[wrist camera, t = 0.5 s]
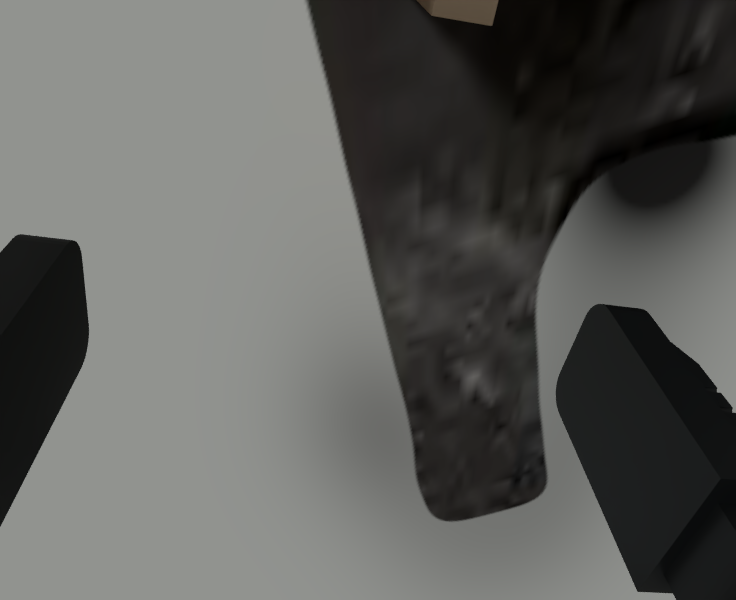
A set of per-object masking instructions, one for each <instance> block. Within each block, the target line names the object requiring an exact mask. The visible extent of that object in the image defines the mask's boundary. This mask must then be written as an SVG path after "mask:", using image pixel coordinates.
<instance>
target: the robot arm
mask: <svg viewBox="0 0 736 600" xmlns="http://www.w3.org/2000/svg"><path fill="white" fill-rule="evenodd" d="M88 338H89V323H88V314H87V303H86V294H85V284H84V273H83V263H82V255H81V250H80V247H79V245H78V243H77V242H75V241H73V240H65V239H56V238H47V237H39V236H30V235H21V234H20V235H17V236H15V237H14V238H13V239H12V240H11V241H10V242H9V243H8V245H7V246H6V247H5V248H4V249H3V250H2V251H1V252H0V526H1V524H2V522H3V520H4V518H5V516H6V514H7V512H8V511H9V509H10V507H11V505H12V503H13V501H14V499H15V497H16V495H17V493H18V491H19V489H20V487H21V485H22V483H23V481H24V479H25V477H26V475H27V473H28V471H29V469H30V467H31V465H32V463H33V461H34V459H35V457H36V455H37V454H38V451H39V450H40V448H41V446H42V444H43V442H44V440H45V438H46V436H47V434H48V432H49V430H50V428H51V426H52V424H53V422H54V420H55V418H56V416H57V414H58V413H59V411H60V409H61V407H62V405H63V403H64V401H65V399H66V397H67V395H68V393H69V391H70V389H71V387H72V385H73V383H74V381H75V379H76V377H77V375H78V373H79V371H80V369H81V367H82V365H83V362H84V359H85V356H86V352H87V346H88ZM556 403H557V408H558V411H559V414H560V416H561V418H562V421H563V423H564V425H565V427H566V430H567V432H568V434H569V437H570V439H571V441H572V443H573V446H574V448H575V450H576V452H577V455H578V457H579V459H580V462H581V464H582V466H583V469H584V471H585V473H586V475H587V478H588V479H589V482H590V484H591V486H592V489H593V491H594V493H595V496H596V498H597V500H598V503H599V505H600V507H601V509H602V512H603V514H604V516H605V519H606V521H607V523H608V525H609V528H610V530H611V532H612V534H613V537H614V539H615V541H616V543H617V546H618V548H619V551H620V553H621V555H622V557H623V560H624V562H625V564H626V566H627V569H628V571H629V573H630V576H631V578H632V580H633V582H634V585H635V587H636V589H637V591H638V592H657V593H658V592H659V593H673V594H674V596H675V598H676V600H736V413H732V407H731V405H730V404H729V403H728V401H727V400H726V399H725V398H724V396H723V395H722V394H721V393H717V387H716V386H715V385H714V383H713V382H712V381H711V379H710V378H709V377H708V376H707V374H706V373H705V372H704V370H703V369H702V368H701V367H700V365H699V364H698V363H696V362H695V361H694V360H693V359H692V358H690V357H689V356H688V355H687V354H685V353H684V352H683V351H681V350H680V349H679V348H678V347H676V346H675V345H674V344H673V343H671V342H670V341H669V340H668V338H667V337H666V335H665V334H664V333H663V331H662V330H661V329H660V327H659V326H658V325H657V323H656V322H655V321H654V319H653V318H652V317H651V316H650V314H649V313H648V312H647V311H645V310H643V309H638V308H630V307H621V306H613V305H605V304H597V305H595V306H593V307H592V308H591V309H590V310H589V312H588V313H587V315H586V317H585V319H584V321H583V323H582V326H581V328H580V330H579V332H578V334H577V337H576V339H575V341H574V343H573V346H572V348H571V350H570V352H569V354H568V356H567V359H566V361H565V363H564V365H563V367H562V370H561V372H560V374H559V377H558V381H557V387H556Z"/></svg>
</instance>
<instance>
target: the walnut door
mask: <svg viewBox="0 0 736 600" xmlns="http://www.w3.org/2000/svg"><path fill="white" fill-rule="evenodd" d="M417 1H418V2H419V3H420V4H421V5H422V6H423V7H424V8H425V9H426V10H427V11H428V12H429V14H430V15H431V16H436V17H442V18H448V19H454V20H460V21H465V22H471V23H477V24H483V25H489V26H492V24H493V20H494V16H495V12H496V8H497V4H498V0H417Z"/></svg>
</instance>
